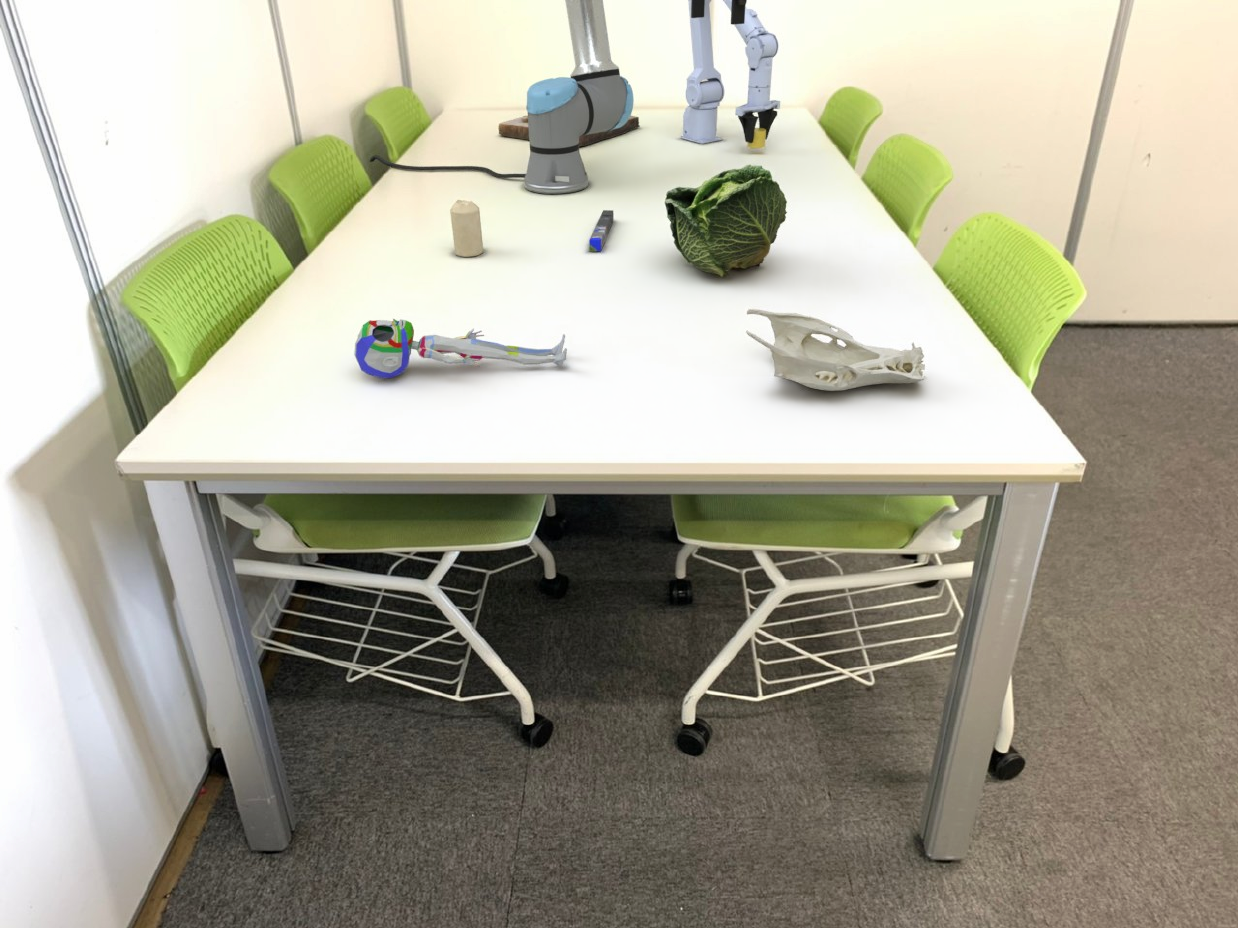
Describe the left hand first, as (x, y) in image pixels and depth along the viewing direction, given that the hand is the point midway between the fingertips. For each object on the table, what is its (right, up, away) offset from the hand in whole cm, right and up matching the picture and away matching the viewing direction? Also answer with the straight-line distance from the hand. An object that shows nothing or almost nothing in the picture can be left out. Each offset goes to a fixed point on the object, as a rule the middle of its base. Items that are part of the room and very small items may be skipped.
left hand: (717, 21), depth 177 cm
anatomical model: (+11, -76, -50) cm, 91 cm away
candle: (-49, -46, -2) cm, 67 cm away
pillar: (-23, -41, +6) cm, 47 cm away
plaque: (-34, +10, +87) cm, 94 cm away
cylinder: (+17, -3, +62) cm, 64 cm away
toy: (-42, -74, -45) cm, 96 cm away
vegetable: (0, -52, -11) cm, 53 cm away
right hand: (+17, -2, +61) cm, 64 cm away
